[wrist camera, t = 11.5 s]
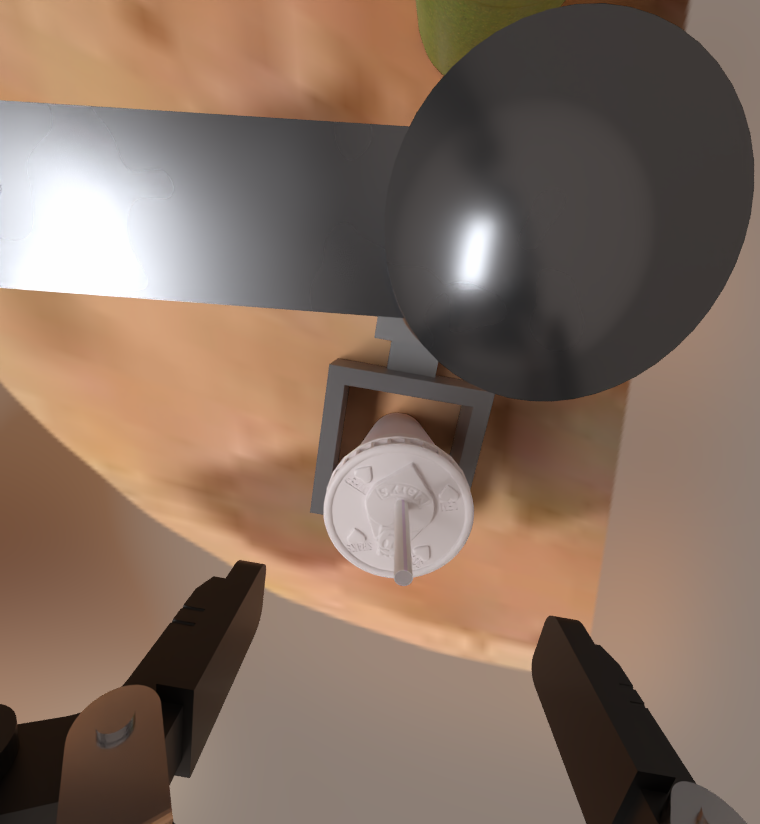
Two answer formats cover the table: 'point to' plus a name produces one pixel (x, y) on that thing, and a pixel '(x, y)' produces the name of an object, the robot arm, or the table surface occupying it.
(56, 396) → the table surface
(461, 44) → the plant pot
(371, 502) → the smoothie
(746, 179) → the joystick lever
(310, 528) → the table surface
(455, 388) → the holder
